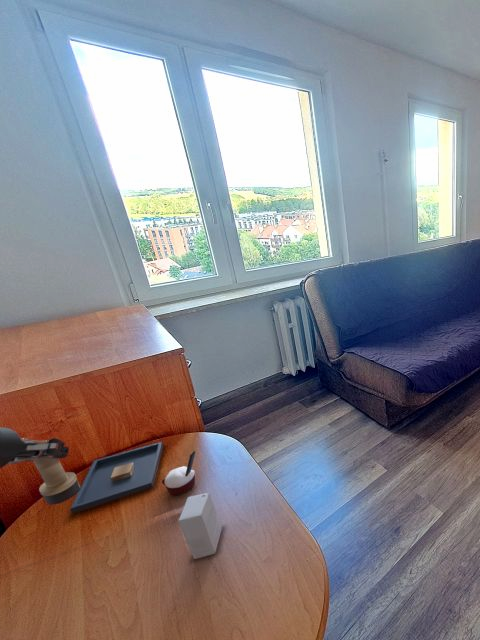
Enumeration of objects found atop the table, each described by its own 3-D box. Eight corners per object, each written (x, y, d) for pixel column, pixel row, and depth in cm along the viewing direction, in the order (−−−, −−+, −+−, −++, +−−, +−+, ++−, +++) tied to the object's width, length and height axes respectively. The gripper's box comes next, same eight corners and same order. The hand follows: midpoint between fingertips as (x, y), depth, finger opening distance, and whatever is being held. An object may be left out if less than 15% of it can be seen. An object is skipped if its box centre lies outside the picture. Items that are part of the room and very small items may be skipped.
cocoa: (160, 493, 86) (146, 458, 82) (184, 475, 92) (172, 441, 87) (186, 505, 83) (172, 468, 79) (209, 485, 89) (197, 450, 84)
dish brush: (41, 509, 67) (12, 458, 62) (52, 490, 71) (26, 441, 66) (76, 498, 69) (50, 449, 64) (85, 480, 73) (62, 433, 69)
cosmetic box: (201, 534, 76) (187, 496, 72) (222, 529, 77) (210, 491, 73) (192, 560, 71) (177, 521, 66) (215, 554, 72) (201, 515, 67)
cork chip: (112, 482, 89) (110, 477, 88) (116, 471, 92) (114, 467, 91) (131, 476, 90) (129, 472, 90) (134, 466, 94) (133, 462, 93)
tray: (73, 515, 80) (70, 508, 80) (96, 466, 95) (94, 460, 94) (153, 489, 88) (151, 482, 87) (164, 447, 102) (162, 441, 101)
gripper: (27, 418, 56) (99, 430, 72) (-83, 431, 53) (18, 440, 68) (13, 466, 53) (91, 467, 69) (-104, 483, 50) (6, 480, 66)
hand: (54, 454), depth 69 cm, fingers closed on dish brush, 3 cm apart
